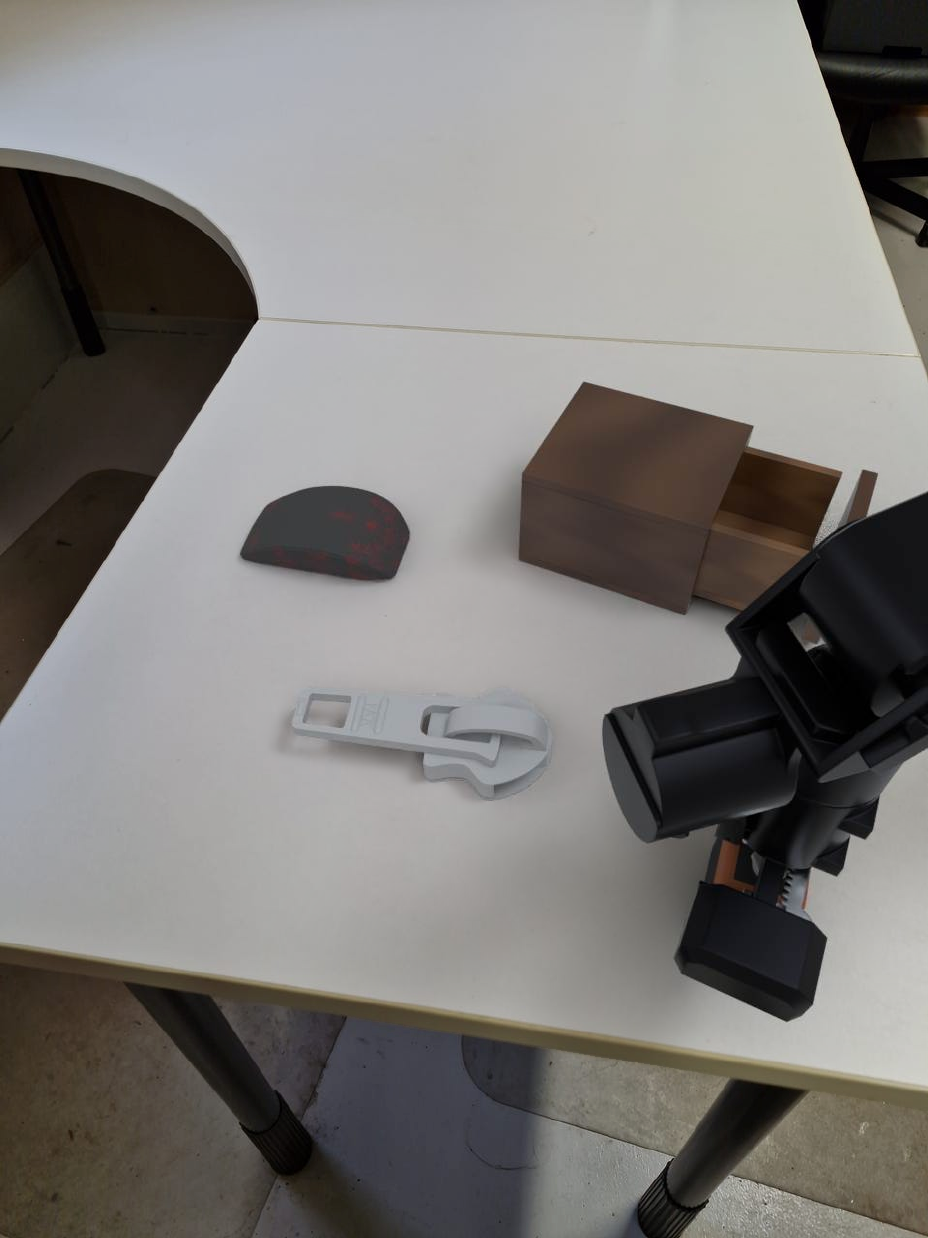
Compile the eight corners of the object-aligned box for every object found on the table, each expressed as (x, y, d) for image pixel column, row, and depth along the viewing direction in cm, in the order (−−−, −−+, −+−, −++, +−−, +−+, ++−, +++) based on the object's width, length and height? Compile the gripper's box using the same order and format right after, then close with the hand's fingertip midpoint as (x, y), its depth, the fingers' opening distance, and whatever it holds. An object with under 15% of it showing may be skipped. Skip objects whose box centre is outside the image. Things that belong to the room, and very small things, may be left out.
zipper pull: (316, 686, 65) (307, 652, 62) (554, 710, 63) (558, 675, 60) (289, 778, 60) (277, 746, 57) (547, 806, 58) (550, 774, 55)
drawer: (906, 561, 71) (944, 490, 65) (882, 666, 64) (923, 597, 58) (689, 498, 76) (707, 427, 70) (647, 589, 69) (662, 518, 63)
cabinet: (728, 513, 76) (754, 425, 69) (685, 615, 69) (709, 529, 61) (574, 468, 80) (583, 380, 73) (518, 559, 73) (521, 473, 65)
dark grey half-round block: (389, 591, 71) (385, 558, 68) (236, 566, 73) (225, 533, 70) (415, 525, 76) (412, 491, 73) (270, 503, 78) (262, 469, 75)
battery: (689, 943, 52) (724, 877, 44) (711, 844, 56) (747, 768, 48) (762, 969, 51) (811, 906, 43) (779, 867, 55) (827, 793, 47)
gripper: (709, 565, 47) (663, 720, 59) (589, 853, 37) (563, 971, 49) (922, 631, 44) (828, 782, 56) (858, 970, 33) (759, 1066, 45)
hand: (745, 887), depth 51 cm, fingers closed on battery, 7 cm apart
